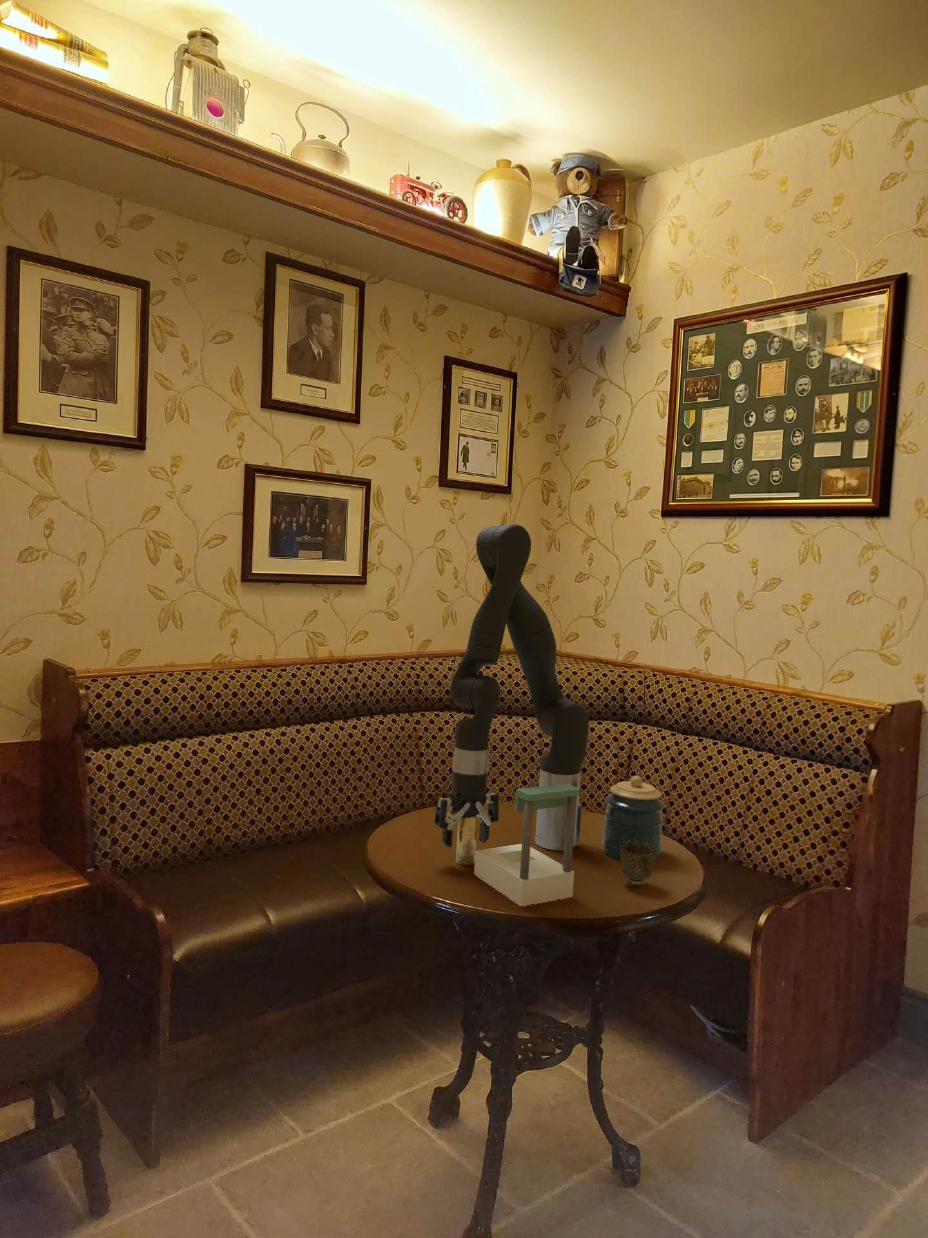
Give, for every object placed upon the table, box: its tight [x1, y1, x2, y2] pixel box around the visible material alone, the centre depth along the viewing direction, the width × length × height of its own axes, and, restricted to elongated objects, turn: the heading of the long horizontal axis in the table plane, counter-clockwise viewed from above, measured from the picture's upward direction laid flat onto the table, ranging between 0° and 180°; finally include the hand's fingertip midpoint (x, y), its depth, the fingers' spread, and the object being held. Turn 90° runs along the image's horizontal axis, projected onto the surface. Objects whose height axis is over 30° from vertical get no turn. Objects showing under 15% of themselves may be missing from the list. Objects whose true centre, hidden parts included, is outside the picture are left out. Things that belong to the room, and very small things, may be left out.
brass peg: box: [455, 815, 478, 866], centre depth 177 cm, size 4×4×10 cm
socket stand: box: [473, 784, 581, 908], centre depth 166 cm, size 12×17×21 cm
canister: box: [601, 775, 666, 861], centre depth 188 cm, size 13×13×18 cm
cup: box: [619, 841, 657, 888], centre depth 170 cm, size 8×7×8 cm
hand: (465, 844), depth 177 cm, fingers open, 8 cm apart
